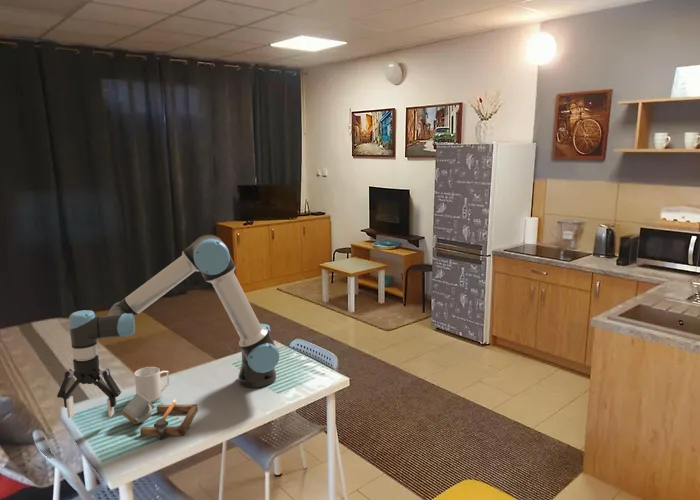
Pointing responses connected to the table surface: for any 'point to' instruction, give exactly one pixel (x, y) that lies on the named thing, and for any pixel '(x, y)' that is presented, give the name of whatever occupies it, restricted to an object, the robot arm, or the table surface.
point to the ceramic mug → (138, 409)
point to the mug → (149, 383)
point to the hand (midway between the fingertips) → (91, 415)
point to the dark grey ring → (161, 430)
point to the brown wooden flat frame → (176, 430)
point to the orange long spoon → (162, 420)
